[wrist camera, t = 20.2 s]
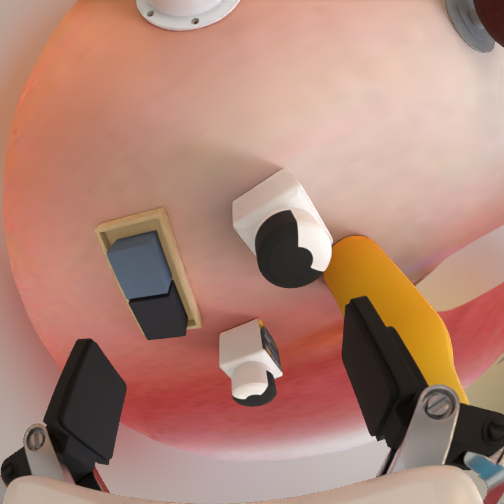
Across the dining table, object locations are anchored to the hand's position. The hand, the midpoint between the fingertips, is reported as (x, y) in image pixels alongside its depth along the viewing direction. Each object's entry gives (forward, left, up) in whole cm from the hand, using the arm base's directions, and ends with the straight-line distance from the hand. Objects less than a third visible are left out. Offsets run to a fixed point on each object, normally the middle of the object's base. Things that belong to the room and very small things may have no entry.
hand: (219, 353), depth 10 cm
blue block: (+8, -13, -26) cm, 30 cm away
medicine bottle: (+26, -2, -26) cm, 37 cm away
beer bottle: (+15, +15, -26) cm, 34 cm away
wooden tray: (+11, -13, -26) cm, 31 cm away
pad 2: (+16, -13, -26) cm, 32 cm away
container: (+5, +5, -26) cm, 27 cm away
